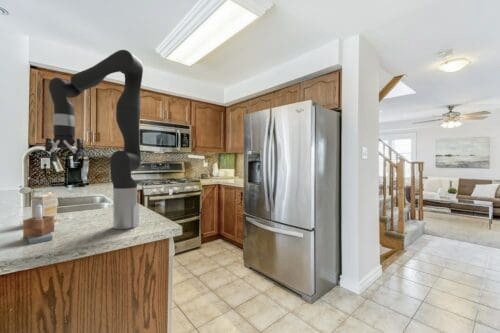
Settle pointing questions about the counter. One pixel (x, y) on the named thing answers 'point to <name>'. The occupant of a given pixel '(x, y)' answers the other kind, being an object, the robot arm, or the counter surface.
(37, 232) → the brown wooden cube
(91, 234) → the counter surface
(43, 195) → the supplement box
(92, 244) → the counter surface
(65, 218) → the counter surface
